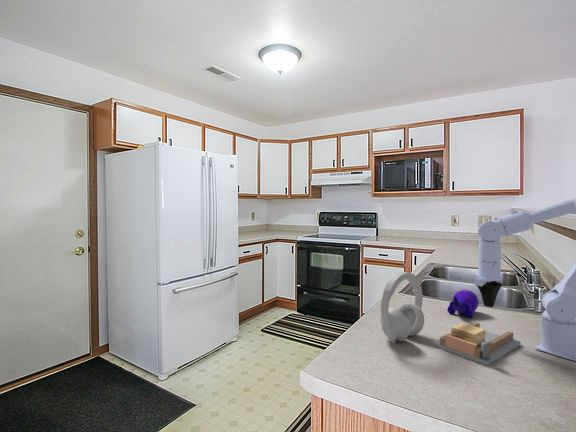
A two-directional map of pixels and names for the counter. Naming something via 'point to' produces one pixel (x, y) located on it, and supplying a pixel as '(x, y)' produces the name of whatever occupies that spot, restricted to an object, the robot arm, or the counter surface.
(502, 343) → the bay
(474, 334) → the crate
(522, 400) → the counter surface
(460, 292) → the toy
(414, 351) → the counter surface
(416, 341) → the counter surface
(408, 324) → the headphones
